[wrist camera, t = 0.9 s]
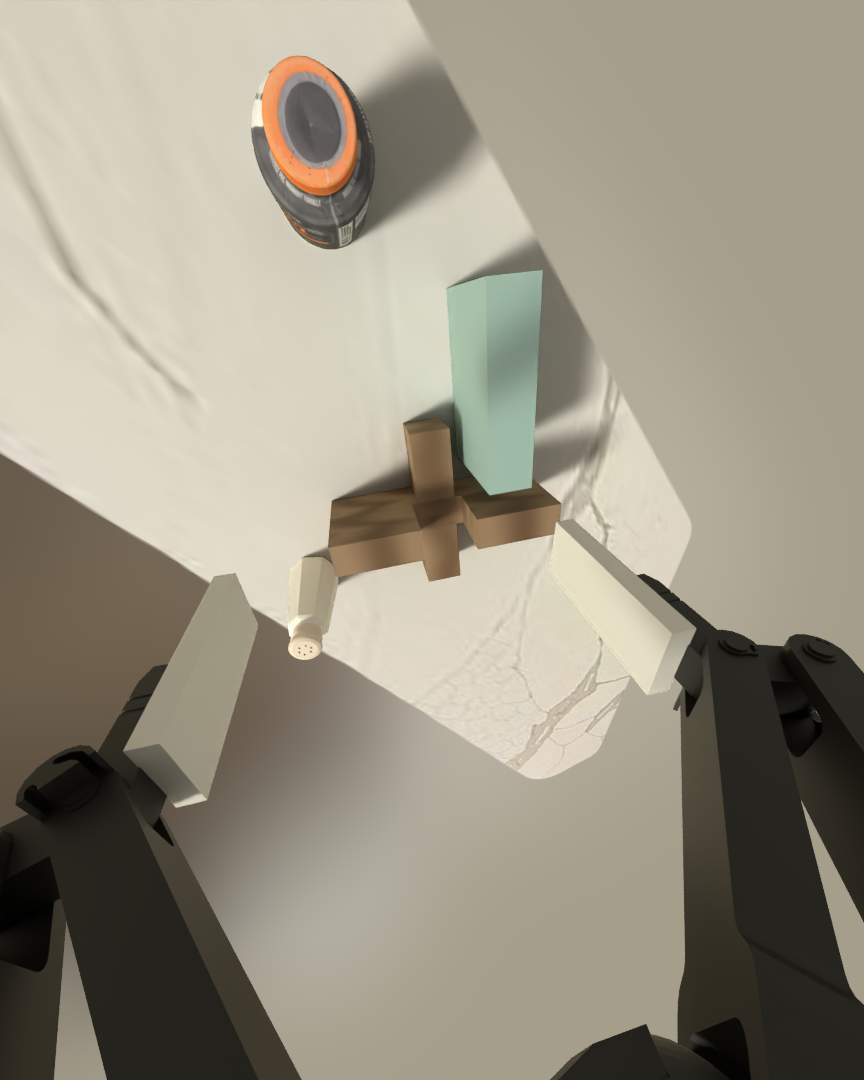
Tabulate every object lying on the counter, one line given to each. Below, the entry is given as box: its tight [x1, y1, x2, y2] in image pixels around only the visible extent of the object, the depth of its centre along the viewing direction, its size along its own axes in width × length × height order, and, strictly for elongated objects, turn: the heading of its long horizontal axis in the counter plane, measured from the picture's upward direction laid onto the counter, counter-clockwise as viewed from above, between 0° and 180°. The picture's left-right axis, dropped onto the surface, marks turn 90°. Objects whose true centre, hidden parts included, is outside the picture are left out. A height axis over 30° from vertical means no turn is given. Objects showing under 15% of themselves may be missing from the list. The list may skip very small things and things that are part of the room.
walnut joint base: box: [328, 418, 561, 582], centre depth 35 cm, size 20×16×9 cm
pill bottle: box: [251, 56, 375, 249], centre depth 20 cm, size 6×6×11 cm
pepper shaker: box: [287, 557, 338, 660], centre depth 36 cm, size 5×5×11 cm
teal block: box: [446, 270, 543, 495], centre depth 29 cm, size 14×4×10 cm, turn 6°
